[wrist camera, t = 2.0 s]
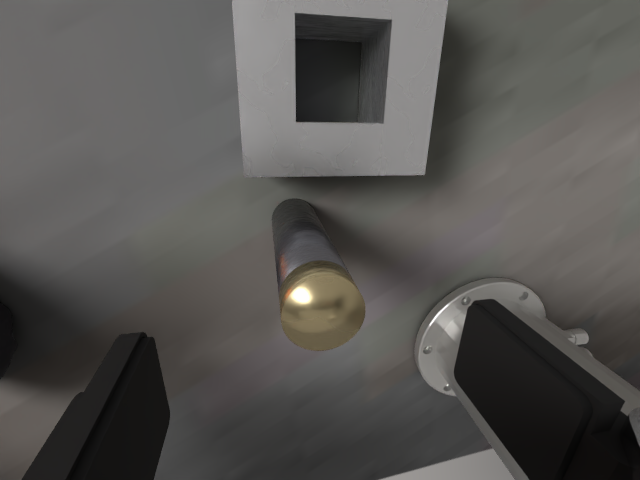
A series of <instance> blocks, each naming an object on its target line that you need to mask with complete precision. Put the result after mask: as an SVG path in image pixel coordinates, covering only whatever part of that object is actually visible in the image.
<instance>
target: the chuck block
mask: <svg viewBox="0 0 640 480" xmlns="http://www.w3.org/2000/svg"><path fill="white" fill-rule="evenodd" d="M447 5H448V0H232V7H233V22H234V36H235V51H236V65H237V80H238V94H239V109H240V123H241V138H242V152H243V167H244V177H309V176H387V175H425V170H426V163H427V155H428V148H429V140H430V133H431V125H432V118H433V110H434V103H435V95H436V88H437V80H438V73H439V65H440V58H441V50H442V43H443V35H444V28H445V20H446V13H447ZM295 39H308V40H326V41H343V42H360V43H362V45H361V64H360V82H359V100H358V119H357V122H310V121H296V88H295Z"/></svg>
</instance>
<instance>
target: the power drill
mask: <svg viewBox="0 0 640 480" xmlns="http://www.w3.org/2000/svg"><path fill="white" fill-rule="evenodd" d="M12 326H13V324H12V315H11V312H10V310H9V309H8V308H7V307H5V306H4V305H2V304H1V303H0V379H1V378H2V377H3V376H4V374H5V372H6V369H7V367H8V366H9V364H10V362H11V359H12V356H13V353H14V351H15V349H16V347H17V343H16V341H15V340H14V338H13V335H12Z"/></svg>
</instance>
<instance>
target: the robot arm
mask: <svg viewBox="0 0 640 480" xmlns="http://www.w3.org/2000/svg"><path fill="white" fill-rule="evenodd" d="M588 341H589V337H588V334H587V333H586V332H585V331H584V330H583V329H580V328H577V329H568V330H564V331H563V330H562V329H560V328H559V327H558V326H556V325H555V324H553V323H552V322H550V321H549V320H548V319H546V312H545V309H544V305H543V303H542V302H541V300H540V298H539V297H538V296H537V295H536V294H535V293H534V292H533V291H532V290H531V289H529V288H528V287H526V286H524V285H523V284H521V283H520V282H517V281H514V280H511V279H506V278H499V277H498V278H485V279H481V280H477V281H473V282H471V283H468V284H466V285H464V286H461V287H459V288H458V289H456V290H455V291H453V292H451V293H450V294H448V295H447V296H446V297H445V298H443V299H442V300H441V301H440V302H439V303H437V305H436V306H435V307H434V308H433V309H432V310H431V311H430V312H429V314H428V315H427V317H426V318H425V320H424V321H423V323H422V325H421V327H420V329H419V332H418V334H417V337H416V342H415V347H414V353H415V361H416V365H417V367H418V369H419V371H420V373H421V375H422V376H423V378H424V379H425V380H426V382H427V383H428V384H429V385H430V386H431V387H433V388H434V389H435V390H437V391H439V392H441V393H443V394H447V395H452V396H457V397H458V399H459V400H460V402H461V403H462V404H463V406H464V407H465V409H466V410H467V412H468V413H469V414H470V416H471V417H472V419H473V420H474V422H475V423H476V425H477V426H478V427H479V429H480V430H481V432H482V433H483V435H484V436H485V437H486V439H487V440H488V442H489V443H490V445H491V446H492V447H493V449H494V450H495V452H496V453H497V455H498V456H499V457H500V459H501V460H502V462H503V463H504V465H505V466H506V468H507V469H508V470H509V472H510V473H511V475H512V476H513V478H514V479H515V480H640V391H639V390H638V389H636V388H635V387H633V386H632V385H631V384H629V383H628V382H627V381H625V380H624V379H622V378H621V377H620V376H618V375H617V374H616V373H614V372H613V371H611V370H610V369H609V368H607V367H606V366H604V365H603V364H602V363H600V362H599V361H598V360H596V359H595V358H593V356H592V353H591V352H590V351H589V350H588V349H586V348H584V347H578V346H577V345H580V344H586V343H587V342H588ZM169 420H170V410H169V405H168V400H167V396H166V391H165V386H164V382H163V377H162V372H161V368H160V363H159V358H158V354H157V349H156V344H155V340H154V338H153V337H147V335H146V333H144V332H140V333H130V334H121V335H119V336H118V337H117V339H116V340H115V342H114V344H113V345H112V347H111V349H110V350H109V352H108V354H107V355H106V357H105V358H104V360H103V362H102V363H101V365H100V367H99V368H98V370H97V372H96V373H95V375H94V376H93V378H92V380H91V381H90V383H89V385H88V386H87V388H86V390H85V391H84V392H81V393H79V394H78V395H76V396H75V398H74V399H73V400H72V401H71V403H70V404H69V406H68V407H67V409H66V411H65V412H64V414H63V415H62V417H61V418H60V420H59V422H58V423H57V425H56V426H55V428H54V430H53V431H52V433H51V434H50V436H49V437H48V439H47V441H46V442H45V444H44V445H43V447H42V448H41V450H40V452H39V453H38V455H37V456H36V458H35V459H34V461H33V463H32V464H31V466H30V467H29V469H28V470H27V472H26V474H25V475H24V477H23V478H22V480H154V476H155V472H156V469H157V465H158V462H159V458H160V454H161V451H162V447H163V443H164V440H165V436H166V433H167V429H168V425H169Z"/></svg>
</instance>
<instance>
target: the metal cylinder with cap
mask: <svg viewBox="0 0 640 480" xmlns="http://www.w3.org/2000/svg"><path fill="white" fill-rule="evenodd" d="M272 228H273V239H274V249H275V260H276V271H277V281H278V292H279V302H280V313H281V323H282V327H283V330H284V332H285V334H286V336H287V337H288V338H289V339H290V340H291V341H292V342H293V343H294V344H296V345H297V346H299V347H301V348H304V349H307V350H313V351H324V350H330V349H333V348H336V347H339V346H341V345H343V344H344V343H346V342H347V341H349V340H350V339H351V338H352V337H353V336H354V335H355V334H356V333H357V332H358V331H359V329H360V327H361V326H362V323H363V321H364V317H365V303H364V300H363V297H362V295H361V293H360V292H359V290H358V288H357V286H356V284H355V283H354V281H353V279H352V277H351V276H350V274H349V272H348V270H347V268H346V267H345V265H344V263H343V261H342V259H341V258H340V256H339V254H338V252H337V251H336V249H335V247H334V245H333V243H332V242H331V240H330V238H329V236H328V234H327V233H326V231H325V229H324V227H323V225H322V224H321V222H320V220H319V218H318V217H317V215H316V213H315V211H314V209H313V208H312V206H311V205H310V204H308V203H307V202H306V201H303V200H301V199H288V200H285V201H283V202H282V203H280V204H279V205H278V206H277V207H276V209H275V210H274V212H273V215H272Z"/></svg>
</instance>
